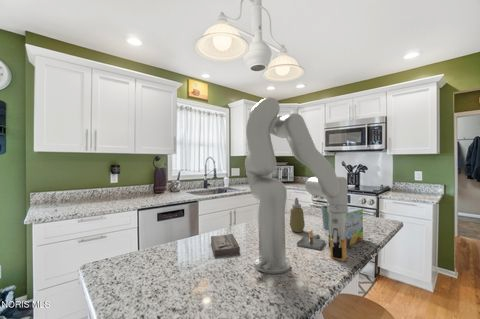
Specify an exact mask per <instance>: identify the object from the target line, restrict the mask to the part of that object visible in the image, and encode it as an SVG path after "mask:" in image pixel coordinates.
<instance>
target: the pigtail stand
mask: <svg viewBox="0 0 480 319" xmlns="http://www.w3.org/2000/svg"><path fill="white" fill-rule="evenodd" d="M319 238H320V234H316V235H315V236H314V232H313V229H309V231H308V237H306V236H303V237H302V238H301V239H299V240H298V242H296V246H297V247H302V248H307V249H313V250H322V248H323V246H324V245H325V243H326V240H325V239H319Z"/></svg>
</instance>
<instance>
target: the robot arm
mask: <svg viewBox="0 0 480 319" xmlns="http://www.w3.org/2000/svg"><path fill="white" fill-rule="evenodd" d="M280 108H281V107H280V104H279V101H278V100H277V99H276V98H274V97H270V96H268V97H264V98H263V99H261V100H260V101H259V102H257V103H256V104H255V105H253V107H252V108H251V109H250V111H249V114H248V119H247V122H246V130H245V132H246V142H247V146H248V150H249V151H248V152H249V153H248V154H247V156H246V157H245V160H244V168H245V173H246V176H247V181H248V185H249V189H250V192H251V195H252V196H253V197H254V198H255V199H256V200H257V201H259V205H258V211H257V214H258V215H257V217H258V218H257V222H258V258H257V259H255V261H254V269H255V270H257V271H259V272H263V273H266V274H271V275H277V274H283V273H286V272H288V271H289V270H290V269H291V263H290V261H289V260H288V259H286V258H287V257H286V256H287V255H286V250H287V249H286V221H285V220H286V218H285V214H286V203H287V194H288V193H287V188H286V186H285V184H284V183H283V182H282V181H281V180H279V179H277V178H275V177H274V178H273V177H271V174H273V173H274V171H275V170H276V168H277V158H276V155H275V150H274V146H273V143H272V142H273V141H272V138H271V136H272V135H273V136H275V137H277V138H280V139H286V140H287V142H288V145H289V147H290V149H291V152H292V155H293V157H294V158H295V159H296V160H297V161H298V162H300V163H301V164H303V165H305V166H306V167H307V168H308V169H309V170H310V171H311V172H312V173H313V175H314V176H312V177H309V178H308V179H307V180H306V182H305V184H304V187H305V190H306V192H307V193H308V194H310V195H312V196H315V197H321V198H323V199H324V198H325V199H326V206H327V212H329V213H330V237H331V239H333V257H334V258H340V259H342V248H341V240H342V241H344V240H345V238H346V236H347V222H346V213H348V208H349V206H348V205H349V203H348V200H349V199H348V197H349V196H348V179H347V178H346V177H344V176H337V174H336V171H335V169H334V167H333V166H332V164H331V163H330V161H329V160H328V159H327V158H326V157H325V156H324V155H323V154H322V153H321V152H320V151H319V150H318V149H317V147H316V144H315V143H314V141H313V139H312V135H311V134H310V132H309V129H308V126H307V123H306V121H305V119H304V118H303V116H302V115H301V114H299V113H298V112H297V113H296V112H293V113H288V114H286V115H284V116H282V115H280V112H281V111H280V110H281V109H280ZM337 237H338V238H339V239H337ZM337 241H339V242H337Z"/></svg>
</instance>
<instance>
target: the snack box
mask: <svg viewBox="0 0 480 319" xmlns="http://www.w3.org/2000/svg"><path fill="white" fill-rule="evenodd" d="M363 210H364V209H363V208H360V207H353V206H352V207H348V213H346V222H347V236H346V248H347V247H349V246H353V245H354V244H357V243H359V242H361V241H363V240H364V223H363V222H364V218H363V216H364V213H363ZM328 214H329V230H328V247H329V248H330V239H331V237H330V213H328Z"/></svg>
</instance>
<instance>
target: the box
mask: <svg viewBox="0 0 480 319" xmlns="http://www.w3.org/2000/svg"><path fill="white" fill-rule="evenodd" d="M210 243H211V247H212V251H213V256H214V257H221V256H230V255H231V256H234V255H240V253H241V247H240V245H239V243H238V242H237V240H236V238H235V236H234V234H232V233H231V234H223V235H222V234H221V235H212V236H210Z"/></svg>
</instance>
